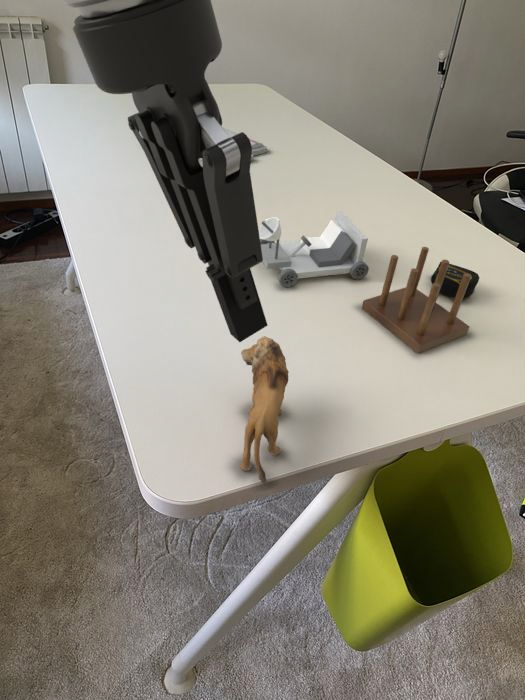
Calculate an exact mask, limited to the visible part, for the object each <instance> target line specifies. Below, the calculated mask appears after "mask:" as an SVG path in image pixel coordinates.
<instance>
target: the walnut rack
mask: <svg viewBox="0 0 525 700" xmlns="http://www.w3.org/2000/svg"><path fill="white" fill-rule="evenodd" d="M429 249H430V248H429V247H427V246H422V247H421V250H420V254H419V257H418V261H417V262H416V263H417V264H416V267H415V268H411V269H410V271H409V276H408V279H407V282H406V285H405V287H403V288H399V289H396V290H393V291H390V290H391V287H392V284H393V279H394V275H395V272H396V269H397V265H398V261H399V256H398V255H396V254H392V255H391V256H390V259H389V263H388V267H387V271H386V275H385V279H384V282H383V286H382V290H381V294H380V295H376V296H373V297H370V298H366V299H364V300H363V302H362V305H361V309H362V310H363V311H364V312H365V313H367V314H368V315H369V316H370V317H372V318H373V319H374V320H375V321H377V322H378V323H379V324H380V325H382V326H383V327H384V328H385V329H386V330H388V331H389V332H390V333H391V334H392V335H394V336H395V337H396V338H398V339H399V340H400V341H401V342H402V343H404V344H405V345H406V346H407V347H409V348H410V349H411V350H412V351H414V352H415V354H421V353H422V352H425V351H427V350H430V349H433V348H436V347H439V346H441V345H443V344H446V343H448V342H451V341H453V340H456V339H460V338H462V337H464V336H466V335H467V334H468V332H469V330H470V328H471V327H470V325H468V324H467V323H466V322H464V321H463V320H461V319H460V318H459V317H457V316H458V312H459V310H460V308H461V305H462V302H463V300H464V299H463V297H464V294H465V292H466V289H467V286H468V284H469V281H470V278H471V275H470V274H468V273H465V274H464V275H463V278H462V281H461V283H460V286H459V289H458V292H457V294H456V297H455V299H454V301H453V303H452V305H451V308H450V311H449V310H447V308H445V307H443V306H442V305H440V304H439V303H437V300H438V297H439V295H440V294H439V292H440V289H441V286H442V283H443V280H444V277H445V274H446V271H447V268H448V265H449V264H450V261H449V260H448V259H442V260H441V261H442V263H441V266H440V269H439V272H438V275H437V278H436V281H435V283H433V284H432V283H431V288H430V291H429V294H428V296H427V295H426V294H424V293H423V292H422V291H420V290H419V289H418V286H419V284H420V283H419V282H420V280H421V277H422V275H423V274H422V273H423V270H424V267H425V263H426V262H427V261H426V260H427V258H428V254H429Z"/></svg>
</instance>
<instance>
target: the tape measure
mask: <svg viewBox="0 0 525 700" xmlns="http://www.w3.org/2000/svg"><path fill="white" fill-rule="evenodd" d="M441 263H442V260H441V261H440V262H439V263H438V266H437V267H436V269H435V270H434V272H433V273H432V275H431V277H430V282H431V283H430V284H431V285H432V284H433V283H435V281H436V278H437V275H438V272H439V269H440V266H441ZM465 273H468V274H470V275H471V278H470V281H469V284H468V286H467V289H466V292H465V294H464V297H463V300H465V299H468V298H470V297H471V296H472V295H473V294H474V292H475V290H476V287H477V286H478V283H479V281H480V276H479V274H478V273H477V272H476V271H473V270H471V269H468V268H465V267H462V266H459V265H456V264H452V263H449V265H448V268H447V271H446V274H445V277H444V280H443V283H442V286H441V289H440V292H439V295H441V296H443V297H446V298H449V299H454V300H455V297H456V294H457V292H458V289H459V286H460V283H461V281H462V278H463V275H464V274H465Z"/></svg>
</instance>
